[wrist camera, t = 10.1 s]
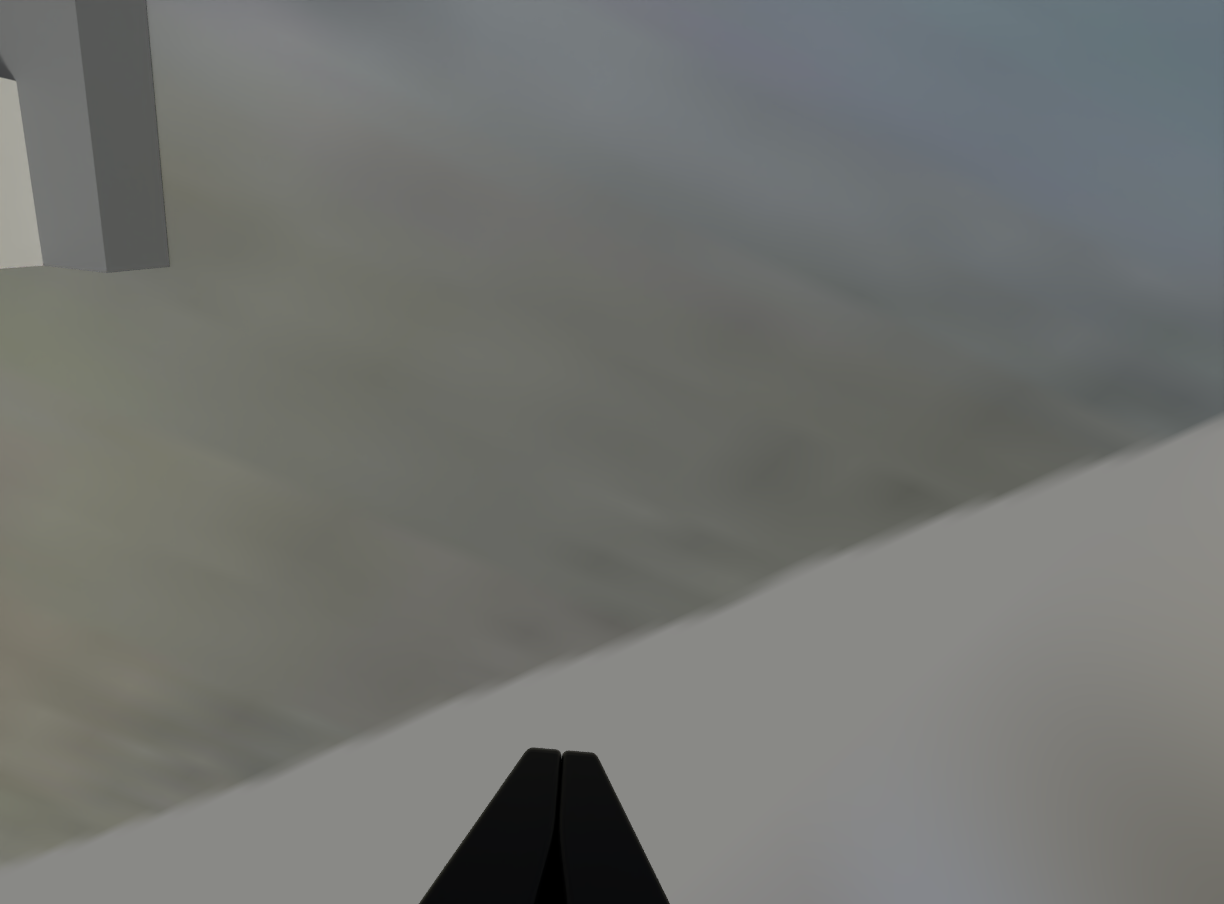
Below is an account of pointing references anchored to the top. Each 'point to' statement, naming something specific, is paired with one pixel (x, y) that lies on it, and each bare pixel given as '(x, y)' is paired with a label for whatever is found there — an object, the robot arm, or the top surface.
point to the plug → (15, 187)
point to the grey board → (88, 130)
